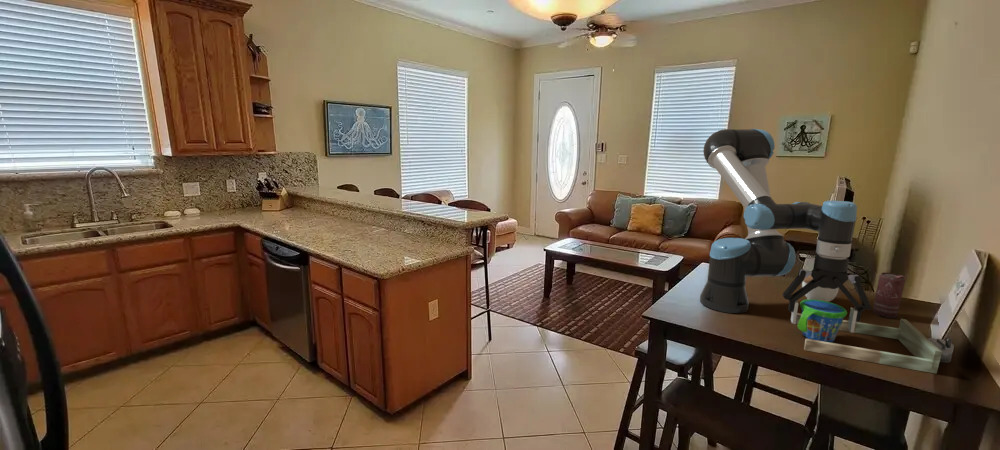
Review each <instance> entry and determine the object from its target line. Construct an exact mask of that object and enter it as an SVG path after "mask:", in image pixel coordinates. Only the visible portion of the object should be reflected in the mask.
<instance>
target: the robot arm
mask: <svg viewBox="0 0 1000 450" xmlns="http://www.w3.org/2000/svg"><path fill="white" fill-rule="evenodd" d="M774 150H775V139H774V138H773V136H772V134H771V133H770V132H768V131H766V130H764V129H759V128H758V129H757V128H749V129H748V128H746V129H745V128H744V129H740V128H739V129H733V128H732V129H730V128H729V129H725V128H724V129H719V130H718V131H715V132H713V133H712V134H710V136H708V138H707V139H706V141H705V143H704V146H703V150H702V151H703V157H704V159H705V161H706V164H708V165H709V167H710V168H712V169H715V170H716V171H717V173H718V174H719V175H720V176H721V178H722V179H723V181H724V182H725V184H726V185H727V186H728V187H729V189H730V190H731V192H732V193H733V194H734V195H735V197H736V198H737V200H739V202H740V204H741V205H742V206H743V210H744V212H743V219H744V223H745V225H746V228H747V236H746V237H745V238H742V237H725V238H719V239H716V240H715V241H714V242H713V243H711V247H710V251H709V263H708V270H707V271H708V272H707V273H708V274H707V281H706V283H705V285H704V287H703V289H702V290H701V293H700V294H699V295H700V296H699V303H700V302H701V303H702V304H703V305H702V304H701V305H702V306H704V305H705V306H704V307H706V306H707V307H706V308H708V307H709V308H708V309H710V308H711V310H713V309H714V311H716V310H718V311H717V312H722V313H729V314H741V313H745V312H747V311H748V310H749V307H750V305H749V304H750V303H749V299H748V294H747V289H746V281H747V277H750V278H751V277H771V278H773V277H778V276H779V277H780V276H785V275H787V274H789V273H790V272H791V271H792V269H793V268H794V266H795V263H796V256H797V255H796V251H795V249H794V246H792V245H791V243H790V242H787V241H785V239H784V235H783V234H782V233H780V232H779V231H777V230H794V229H795V230H799V229H804V230H806V229H807V230H811V231H815V232H818V235H817V241H816V249H815V253H816V255H814V263H813V267H812V268H813V269H812V270H808V269H807V270H805V269H804V268H799V271H798V274H797V276H795V278H794V280H792V282H791V283H790V284H789V285H788V287H787V288H786V289H785V290H784V291H783V293H782V297H783V298H784V299H785V300H788V307H787V309H788V312H790V313H791V316H790V322H791V324H793V325H796V324H797V323H796V317H797V313H798V309H799V302H798V300H800V299H801V298H803V297H804V296H805V294H807V293H808V292H810V291H811V290H813V289H814V288H817V287H818V286H820V287H821V288H831V289H836V288H838V287H839V290H840V291H841V292H842V293H843V294H844V295H845V297H846V298H847V300H849V302H850V303H851V305H853V306H854V307H850V312H849V317H848V321H849V322H848V328H847V329H848V330H849V331H850V332H849V333H853V334H854V333H855V332H854V328H855V323H856V322H861V318H862V313H863V312H864V311H865V310H868V311H870V310H873V307H872V306H871V303H870V301H869V299H868V297H867V294H866V292H865V290H864V288H863V285H862V277H861V276H860V275H859V274H857V273H854V274H848V268H849V264H850V259H849V257H850V256H851V250H852V243H853V238H854V231H855V227H856V221H857V215H858V213H857V211H858V205H857V204H856V203H855V202H852V201H847V200H845V201H844V200H825V201H824V202H823V203H822V205H821V204H820V205H819V204H814V203H810V202H807V201H795V202H793V203H776V201H774V199H773V198H772V197H771V191H770V186H769V179H768V175H767V170H766V166H767V165H768V164H769V163H770V159H771V158H772V157H773V155H774V153H775V152H774ZM809 275H811V276H812V278H813V279H812V280H811V281H810V282H809V283H808V284H806V285H805V286H804V287H802V286H801V287H800V285H802V282H803V280H804V278H807V277H808V276H809ZM848 280H849V281H850V282H851V283H852V284H853V286H854V289H855V291H856V293H857V295H858V298H859V300H860V302H861V303H859V302H858V301H857V300H856V298H855V297H854V296H853V295H852V294H851V292H850V291H849V290H848V289H847V288H846V286H845V285H844V283H846V282H847V281H848ZM799 287H800V289H798V288H799ZM797 289H798V290H797ZM796 290H797V291H796Z"/></svg>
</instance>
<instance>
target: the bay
mask: <svg viewBox="0 0 1000 450" xmlns="http://www.w3.org/2000/svg"><path fill="white" fill-rule="evenodd" d="M801 315H802V313H799V312H797V317H796V324H797V325H798V322H799V320H800V317H801ZM848 322H849V320H845V319H843V322H842V324H841V325H840V328H839V330H838V331H844V332H849V333H851V332H850V331H849V330H848V329H847V328H848ZM854 333H856V334H862V335H868V336H875V337H880V338H887V339H895V340H898V341H899V342H900V343H901V344H902V345H903V346H904V347H905V348H906V349H907V351H909V352H910V354H911V355H907V354H906V355H905V354H900V353H893V352H889V351H882V350H876V349H870V348H865V347H859V346H858V347H857V346H852V345H846V344H841V343H835V342H831V343H829V342H824V341H818V340H812V339H808V338H804V339H805V340H804V346H803V349H804V351H806V352H807V351H808V352H813V353H819V354H825V355H829V356H834V357H841V358H846V359H851V360H852V359H853V360H858V361H863V362H869V363H874V364H881V365H886V366H891V367H897V368H902V369H907V370H914V371H919V372H926V373H930V374H937V373H938V370H939V365H940V363H941V362H940V358H941V354H942V351H940V350H939V349H938V348H937V347H936V346H935V345H934V344H933V343H932V342H931V341H929V340H928V338H927V337H926V336H925V335H924V334H923V333H922V332H920V331H919V329H917V328H916V327H915V326H914V325H913V324H912V323H910V321H908V320H907V319H905V318H900V320H899V324H898V327H894V326H893V327H892V326H886V325H881V324H880V325H879V324H873V323H867V322H866V323H865V322H861V321H856V323H855V328H854ZM912 355H913V356H912Z"/></svg>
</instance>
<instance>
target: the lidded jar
mask: <svg viewBox="0 0 1000 450" xmlns="http://www.w3.org/2000/svg"><path fill="white" fill-rule="evenodd" d="M812 279H813V278H812V276H811V275H809V276H808V277H807V278H804V280H803V282H802V283H801V288H802V287H804V286H805V285H806V284H808V283H809V282H810V281H811V280H812ZM839 290H840V289H839V287H838V288H836V289H831V288H821V287H820V286H818V287H817V288H814V289H813V290H811V291H810V292H808V293H807V294H805V295H804V296H805V297H806V300H807V299H812V300H821V301H826V302H831V301H833V300H834V299H835V298H836V297H837V295H838V294H839Z"/></svg>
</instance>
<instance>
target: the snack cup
mask: <svg viewBox="0 0 1000 450" xmlns="http://www.w3.org/2000/svg"><path fill="white" fill-rule="evenodd" d="M799 306H800V308H801V314H802V315H801V317H800V320H799V322H798V324H797V329H798V330H800V331H801V332H802V335H803V336H804V337H805V338H806V339H812V340H818V341H824V342H829V343H834V341H835V339H836V338H837V335H838V332H839V331H840V330H839V328H840V325H841V324H842V322H843V320H844V318H845V317H846V316H847V315H848V312H847V309H846V308H844V307H843V306H842V305H839V304H836V303H833V302H831V301H829V302H826V301H821V300H812V299H807V298H806V299H803V300H802V301H800V303H799Z"/></svg>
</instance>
